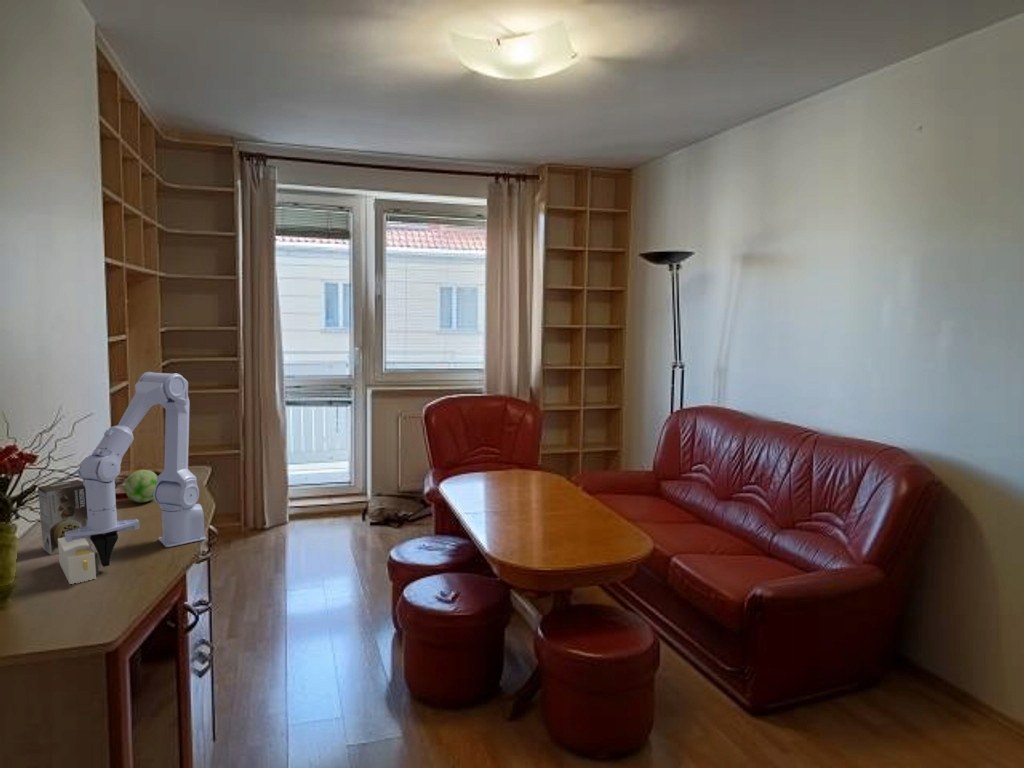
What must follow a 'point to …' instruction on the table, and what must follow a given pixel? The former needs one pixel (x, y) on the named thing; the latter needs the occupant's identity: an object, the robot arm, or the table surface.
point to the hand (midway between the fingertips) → (105, 565)
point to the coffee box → (61, 512)
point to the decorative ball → (141, 485)
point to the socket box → (77, 560)
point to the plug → (96, 564)
